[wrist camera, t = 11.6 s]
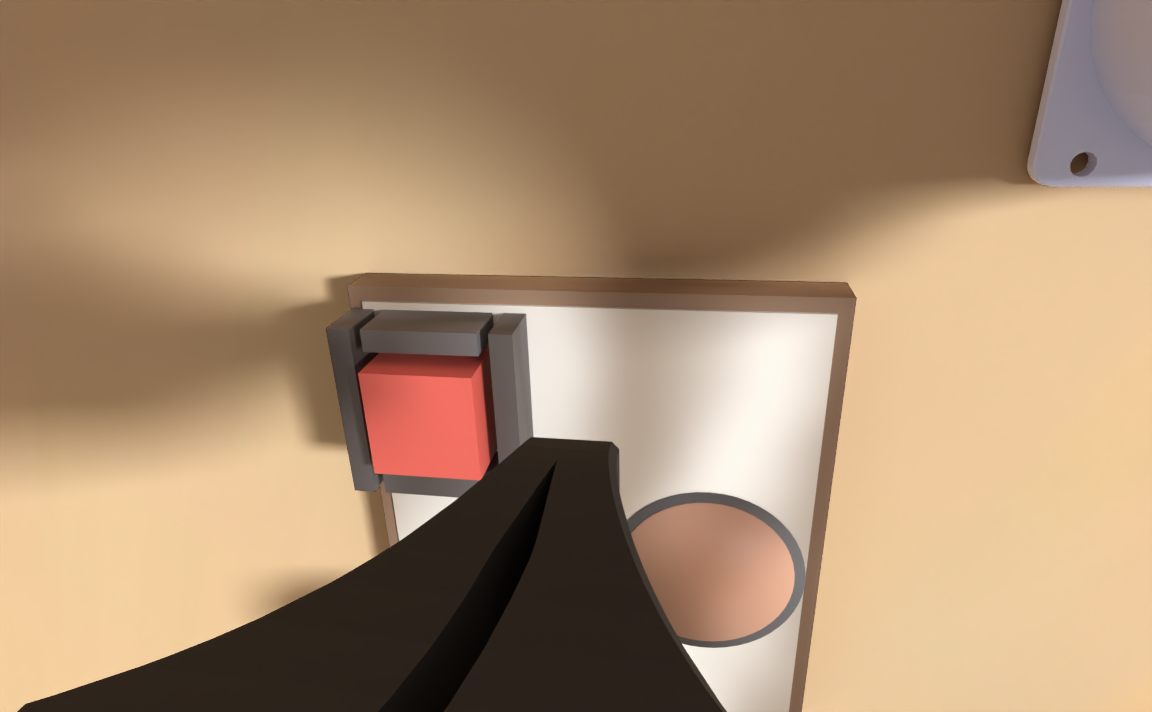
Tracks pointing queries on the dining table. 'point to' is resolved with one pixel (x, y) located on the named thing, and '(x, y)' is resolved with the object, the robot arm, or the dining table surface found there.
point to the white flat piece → (650, 433)
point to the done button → (430, 414)
